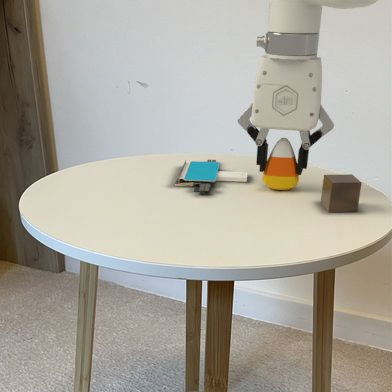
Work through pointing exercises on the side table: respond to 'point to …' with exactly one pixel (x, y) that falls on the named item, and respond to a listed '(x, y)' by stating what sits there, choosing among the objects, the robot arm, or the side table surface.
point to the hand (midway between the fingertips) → (281, 170)
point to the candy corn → (281, 167)
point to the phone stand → (205, 175)
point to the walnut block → (340, 193)
